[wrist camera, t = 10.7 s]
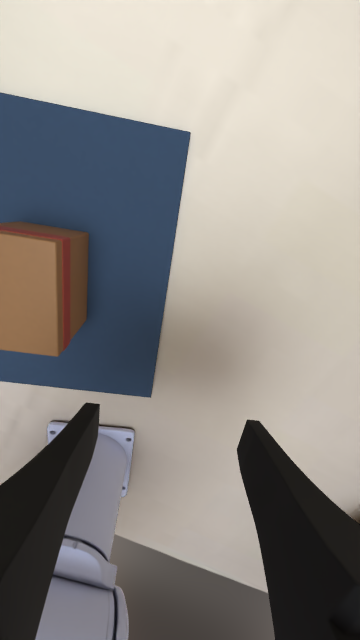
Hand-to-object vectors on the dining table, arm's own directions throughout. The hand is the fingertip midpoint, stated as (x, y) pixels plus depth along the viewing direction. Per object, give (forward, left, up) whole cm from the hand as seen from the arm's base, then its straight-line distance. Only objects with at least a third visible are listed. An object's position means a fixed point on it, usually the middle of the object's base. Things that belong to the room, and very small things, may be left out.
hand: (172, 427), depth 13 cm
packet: (+4, +9, -9) cm, 13 cm away
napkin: (+4, +9, -9) cm, 14 cm away
